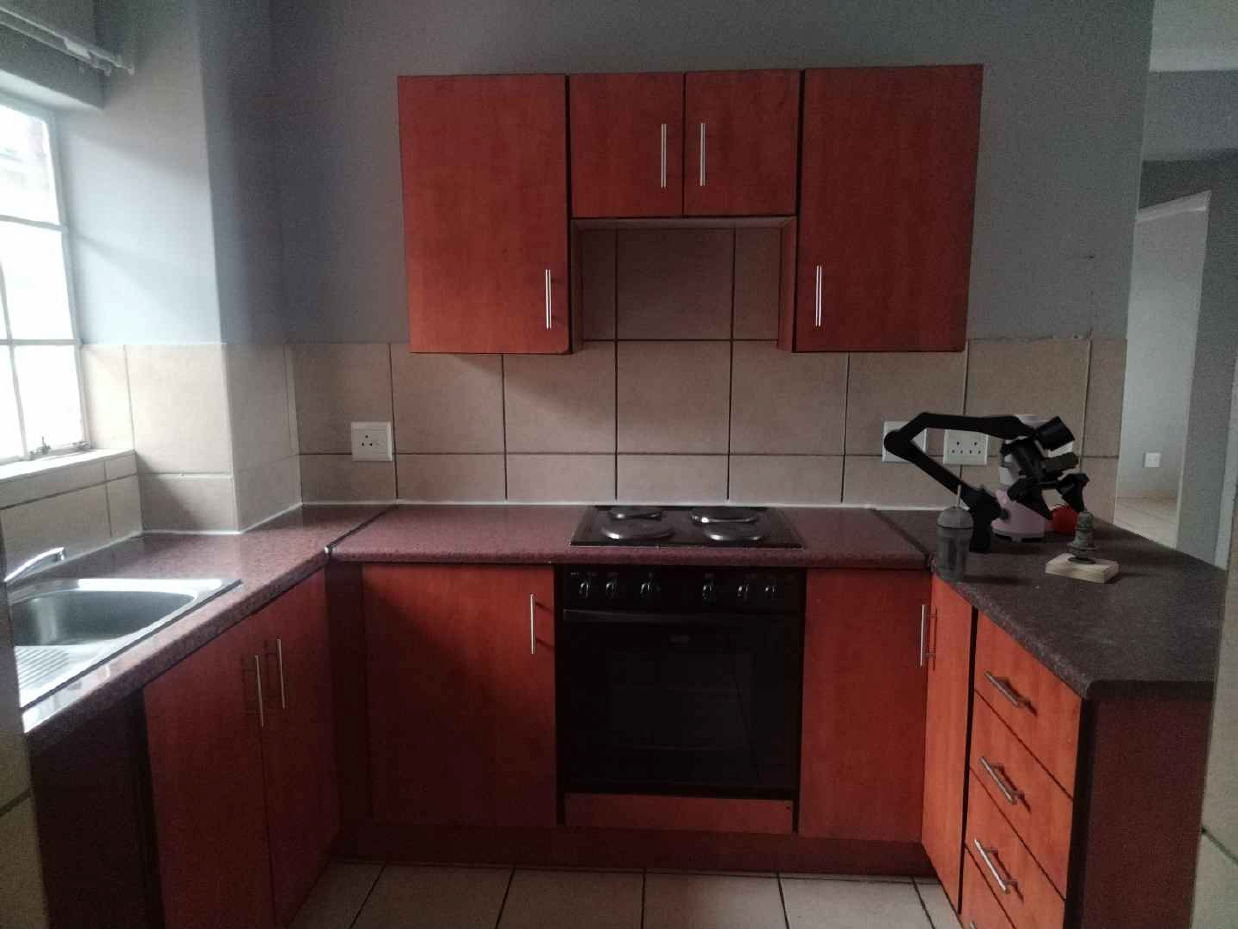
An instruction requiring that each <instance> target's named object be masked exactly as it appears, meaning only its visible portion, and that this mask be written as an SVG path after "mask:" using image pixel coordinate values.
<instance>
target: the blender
mask: <svg viewBox="0 0 1238 929" xmlns="http://www.w3.org/2000/svg"><path fill="white" fill-rule="evenodd" d="M1014 415H1015V416H1017V417H1018V418H1019V419H1020V420H1021V421H1022V423H1024V424H1027V425H1032V426H1033V427H1037V426H1039V425H1041V424H1043V423H1045V422H1047V421H1049V420H1047V419H1040V418H1039V419H1038V415H1037V414H1028V413H1026V414H1025V413H1015V414H1014ZM1024 438H1027V437H1024V436H1019V437H1017V438H1016V439H1014V440H1005V439H1001V438H998V443H997V444H998V445H997V465H998V472H999V473H998V474H999V481H1000V482H999V486H998V489H997V490H996V491H995V493H996V496H997V499H998V500H999V502H1000V505H1001V515H1000V516H999V518H997V519H996V520H994V521H992V523H991V525H993V532H994V533H995V536H996V534H997V535H1001V536H1006V537H1011V541H1012V542H1013V541H1017V542H1016V543H1021V542H1022V539H1035V538H1038V539H1043V537H1044V536H1045V520H1046V518H1044V517H1042V516H1041V515H1039V514H1038V513H1036V512H1034V511H1033V510H1031V509H1029V508H1027V507H1025V506H1024V505H1022V504H1017V503H1016V501H1010V499H1009V497H1008V496H1007V489H1008V488H1009V487H1010V486H1011V485H1012V484H1013V483H1014V482H1015V481H1017V480H1018V479H1019V478H1026V477H1025V476H1019V474H1018V472H1019V471H1020V468H1019V466H1018V465H1017V463H1016V462H1015V460H1014V459H1013V457H1012V455H1011V454H1010V455H1008V456H1006V457H1002V455H1001V454H1000V452H999V450H1000V448H1001V446H1002V443H1005V444H1008V443H1011V442H1013V441H1015V440H1017V439H1020V440H1021V439H1024ZM1035 444H1036V445H1037V446H1038V448H1039V449H1040V451H1041V452H1042V454H1043V455H1044V457H1049V450H1047V449H1046V450H1043V448H1042V447H1041V445H1040V444H1039V442H1038V441H1035ZM1042 497H1043V499H1044V501H1045V502H1046V503H1047V501H1046V496H1045V494H1044V492H1043V491H1042Z"/></svg>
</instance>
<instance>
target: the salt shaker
mask: <svg viewBox="0 0 1238 929" xmlns="http://www.w3.org/2000/svg"><path fill="white" fill-rule="evenodd" d="M1084 510H1085V511H1083V512H1080V513H1079V514H1078V519H1077V526H1076V527H1075V529H1076V535H1075V537H1074V539H1073V541H1072V542H1071V541H1070V542H1067V546H1068V550H1069V554H1072V555H1074V556H1076V557H1070V558H1068V561H1070V562H1072V563H1077V564H1084V565H1093V564H1096V562H1095V561H1094V560H1092V559H1090V557H1091V558H1094V556H1096V554H1097V552H1098V549H1100V546H1098V544H1095V543H1094V542H1093V531H1095V528H1094V527H1093V525H1094V515H1093V513H1092V512H1090V511H1088V510H1089V509H1088V507H1085V509H1084Z"/></svg>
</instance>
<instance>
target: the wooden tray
mask: <svg viewBox="0 0 1238 929" xmlns="http://www.w3.org/2000/svg"><path fill="white" fill-rule="evenodd" d="M1070 557H1076V556H1074V555H1072V554H1071V553H1066V552H1065V553H1064V552H1063V553H1060V555H1058V556H1056V557H1054V558H1053V559H1051V560H1049V561H1048V562H1045V572H1044V573H1046V574H1051V575H1055V576H1056V575H1057V576H1062V577H1067V578H1071V579H1077V580H1083V581H1089V582H1094V583H1099V584H1106V582H1108V581H1109V580H1110V579H1111V578H1113V577H1114V576H1116V575H1117V574H1118V573H1119V563H1117V561H1114V560H1113V561H1112V560H1108V559H1102V558H1096V557H1090V559H1092V560H1094V561H1095V562H1096V564H1093V565H1084V564H1077V563H1072V562H1070V561H1068V558H1070Z"/></svg>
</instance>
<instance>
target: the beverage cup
mask: <svg viewBox="0 0 1238 929" xmlns="http://www.w3.org/2000/svg"><path fill="white" fill-rule="evenodd" d="M960 491H961V485H959V486H958V495H956V497H957V498H956V506H955V505H953V506H948V507H946V508H944V510H942V511H941V513H940V514H939V515H938V518H937V521H936V526H937V527H936V528H937V534H938V548H939V551H938V552H939V554H938V555H939V572H940V578H941V579H942V580H946V581H948V582H949V581H950V582H962V581H964V579H965V573H966V568H967V562H968V557H969V552H970V551H969V545H970V538H971V536H972V533H973V528H974V525H973V519H972V517H971V515H970V513H969V512H968V511H967V510H968V509H965V508H964V507H963V506H960V500H961V498H960Z"/></svg>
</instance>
